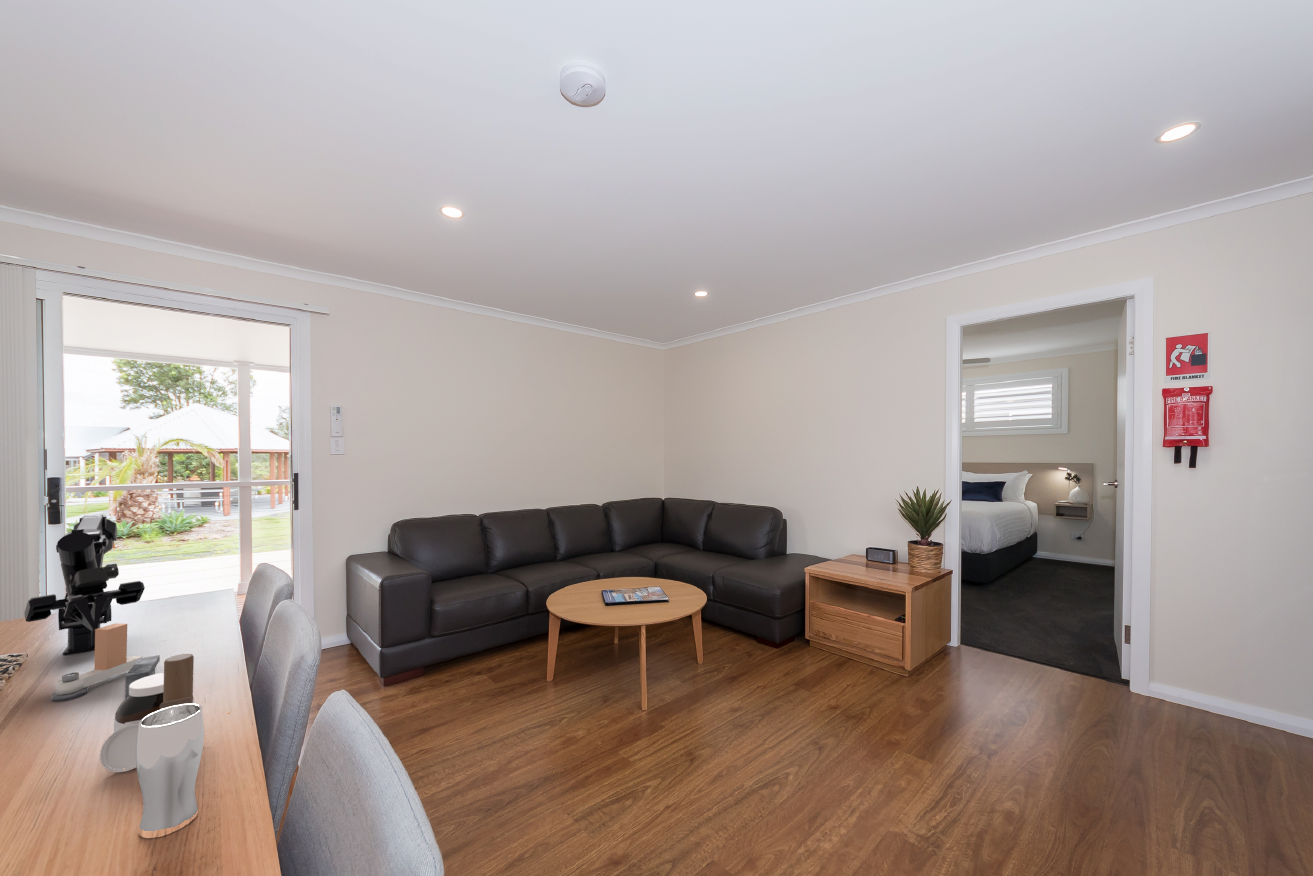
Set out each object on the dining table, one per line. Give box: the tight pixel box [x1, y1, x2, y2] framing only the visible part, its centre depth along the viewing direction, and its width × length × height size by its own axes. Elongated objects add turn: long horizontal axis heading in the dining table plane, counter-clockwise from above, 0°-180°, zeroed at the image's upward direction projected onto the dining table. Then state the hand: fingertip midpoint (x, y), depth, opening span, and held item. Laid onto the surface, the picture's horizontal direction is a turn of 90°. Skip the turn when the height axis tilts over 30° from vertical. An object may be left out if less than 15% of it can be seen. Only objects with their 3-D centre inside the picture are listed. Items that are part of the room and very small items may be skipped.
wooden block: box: [160, 653, 195, 710], centre depth 83 cm, size 4×11×18 cm, turn 41°
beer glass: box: [135, 703, 205, 831], centre depth 73 cm, size 7×7×15 cm
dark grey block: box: [124, 654, 161, 700], centre depth 114 cm, size 4×11×5 cm, turn 35°
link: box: [55, 622, 144, 695], centre depth 116 cm, size 15×4×11 cm, turn 175°
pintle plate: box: [51, 672, 89, 703], centre depth 110 cm, size 5×5×4 cm
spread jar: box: [99, 672, 195, 773], centre depth 90 cm, size 12×11×12 cm
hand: (94, 629), depth 121 cm, fingers closed
